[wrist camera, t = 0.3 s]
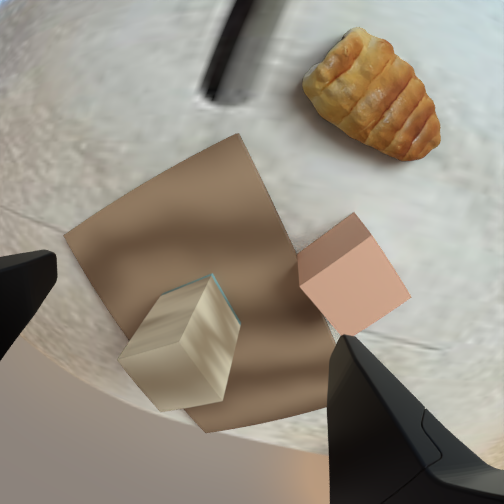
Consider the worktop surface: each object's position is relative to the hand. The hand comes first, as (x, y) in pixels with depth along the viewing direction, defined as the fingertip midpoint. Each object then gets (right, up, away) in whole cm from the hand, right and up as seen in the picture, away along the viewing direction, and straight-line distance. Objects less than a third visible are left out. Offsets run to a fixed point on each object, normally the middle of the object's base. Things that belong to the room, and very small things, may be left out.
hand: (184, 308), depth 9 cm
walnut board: (-1, -4, +17) cm, 17 cm away
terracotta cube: (+9, +1, +14) cm, 16 cm away
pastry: (+10, +12, +10) cm, 18 cm away
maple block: (-2, -3, +15) cm, 15 cm away
